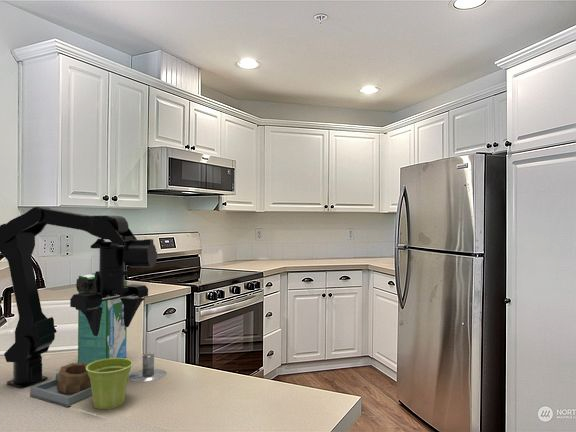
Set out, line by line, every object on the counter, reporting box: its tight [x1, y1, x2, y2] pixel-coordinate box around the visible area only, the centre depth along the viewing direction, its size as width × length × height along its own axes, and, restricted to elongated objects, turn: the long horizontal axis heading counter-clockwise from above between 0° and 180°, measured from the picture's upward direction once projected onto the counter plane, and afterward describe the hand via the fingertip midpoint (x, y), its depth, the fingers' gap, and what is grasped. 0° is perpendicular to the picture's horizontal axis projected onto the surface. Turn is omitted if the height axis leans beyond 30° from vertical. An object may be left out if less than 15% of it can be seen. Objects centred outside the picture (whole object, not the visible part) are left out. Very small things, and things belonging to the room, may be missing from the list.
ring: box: [54, 362, 91, 394], centre depth 98 cm, size 7×9×4 cm
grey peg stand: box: [128, 353, 167, 383], centre depth 107 cm, size 9×9×5 cm
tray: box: [29, 377, 92, 408], centre depth 98 cm, size 13×13×2 cm
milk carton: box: [77, 272, 128, 364], centre depth 117 cm, size 9×9×25 cm
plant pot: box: [86, 357, 134, 410], centre depth 91 cm, size 9×9×9 cm
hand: (111, 331), depth 102 cm, fingers open, 9 cm apart
